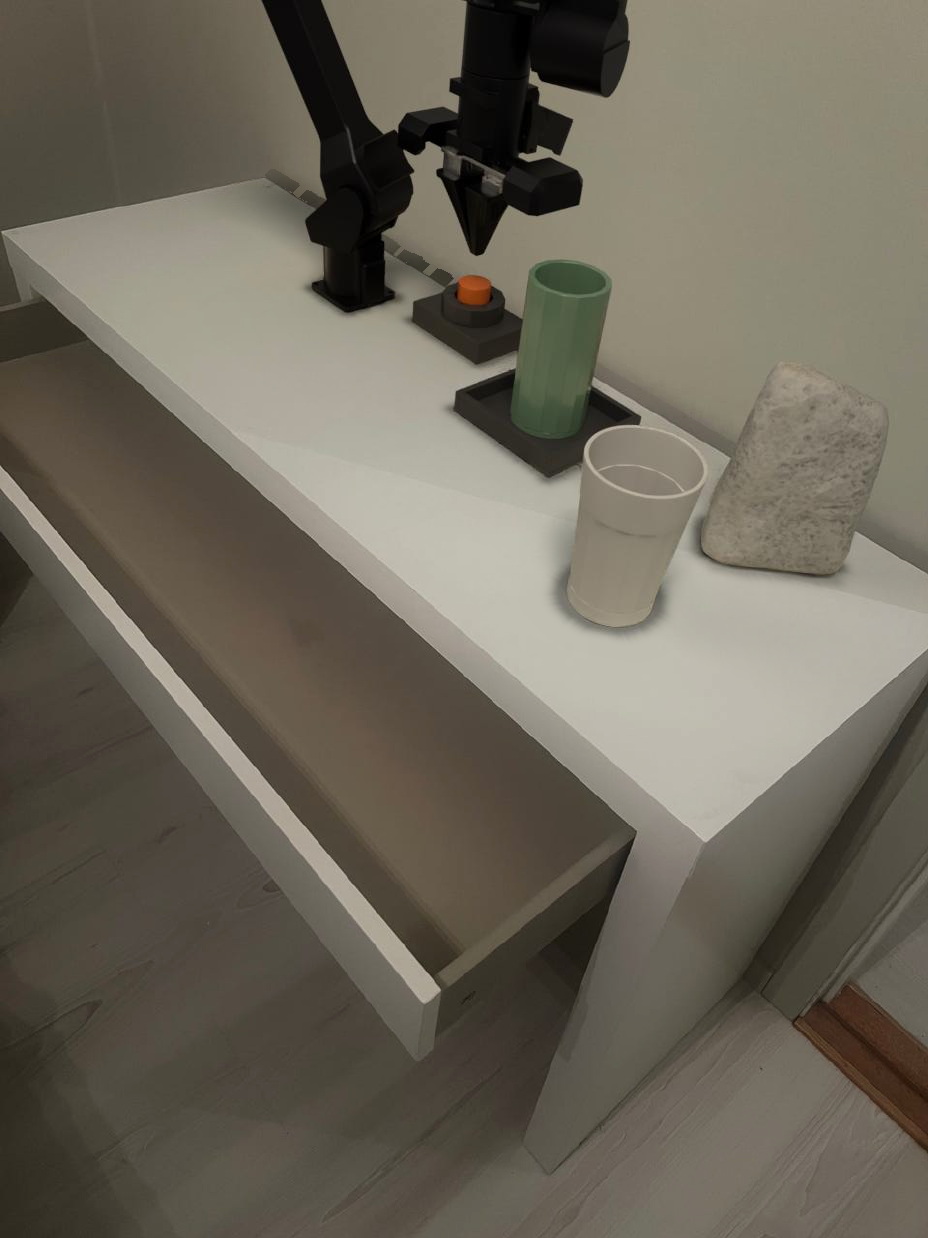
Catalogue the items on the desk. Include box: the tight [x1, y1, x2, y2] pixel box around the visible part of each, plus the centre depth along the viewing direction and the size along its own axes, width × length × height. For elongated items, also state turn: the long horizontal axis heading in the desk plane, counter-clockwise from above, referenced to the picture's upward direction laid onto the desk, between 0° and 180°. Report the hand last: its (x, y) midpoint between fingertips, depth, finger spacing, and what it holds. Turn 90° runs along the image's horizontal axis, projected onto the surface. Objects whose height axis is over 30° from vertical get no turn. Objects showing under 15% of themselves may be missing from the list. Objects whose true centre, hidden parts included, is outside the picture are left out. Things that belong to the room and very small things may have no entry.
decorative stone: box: [700, 360, 890, 575], centre depth 68 cm, size 11×6×15 cm, turn 78°
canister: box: [510, 259, 613, 439], centre depth 78 cm, size 7×7×13 cm
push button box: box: [411, 282, 523, 365], centre depth 92 cm, size 10×7×4 cm
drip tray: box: [453, 367, 642, 479], centre depth 83 cm, size 12×11×2 cm
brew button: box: [457, 274, 492, 305], centre depth 91 cm, size 3×3×2 cm
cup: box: [566, 424, 709, 628], centre depth 63 cm, size 8×8×12 cm
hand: (477, 253), depth 88 cm, fingers closed
